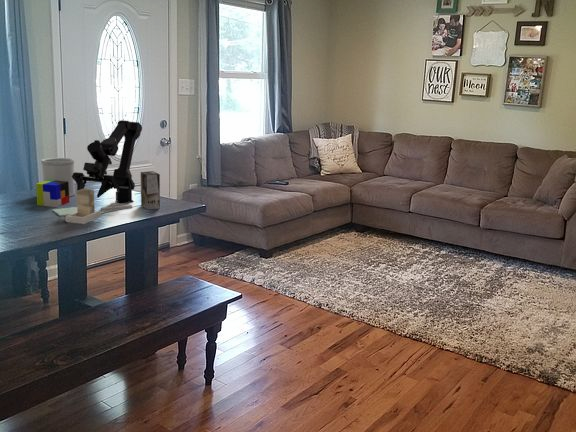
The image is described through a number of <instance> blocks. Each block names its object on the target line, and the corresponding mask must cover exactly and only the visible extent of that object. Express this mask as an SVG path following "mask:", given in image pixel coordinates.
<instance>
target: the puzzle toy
mask: <svg viewBox="0 0 576 432" xmlns="http://www.w3.org/2000/svg"><path fill="white" fill-rule="evenodd" d="M35 188H36V189H35V190H36V205H37V206H42V207H43V206H45V207H53V208H58V207H61V206H63V205H66V204H68V203H70V197H69V183H68V181H57V180H46V181H44V180H43V181H40V182H37V183H35Z"/></svg>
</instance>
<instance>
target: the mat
mask: <svg viewBox="0 0 576 432" xmlns="http://www.w3.org/2000/svg"><path fill="white" fill-rule="evenodd" d="M51 210H52V212H53V213H55V214H56V215H58V216H59V217H65V216H67V215H69V214H72V213H74V212H77V206H74V207H72V206H71V207H65V208H64V207H63V208H54V209H51Z"/></svg>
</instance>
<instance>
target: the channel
mask: <svg viewBox="0 0 576 432" xmlns="http://www.w3.org/2000/svg"><path fill="white" fill-rule="evenodd" d="M101 212H102V211H101V210H96V211H95V212H94V213H91V214H89V215H87V216H84V217H78V213H77V212H74V213H72V214H69V215H67V216H64V217H65V222H66V223H72V224H80V225H81V224H83V225H85V224H87V223H89V222H92V221H94V220H96V219H98V218H101V217H102V216H101V215H102V213H101Z"/></svg>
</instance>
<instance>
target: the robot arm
mask: <svg viewBox="0 0 576 432" xmlns="http://www.w3.org/2000/svg"><path fill="white" fill-rule="evenodd" d="M142 131H143V125H141V123H140V122H138V121H129V120H118V121H117V125H116V126H115V128H114V129H113V131H112V132H111V133H110V134H109V137H107V138H105V139H103V140H102V141H101V140H98V139H95V140H94V141H93V142H90V143H89V144H88V145H87V147H86V149H87V152H88V153H89V154H90V156H91V158H92V159H93V160H94V162H93V163H92V162H84V165H83V169H82V170H83V171H85V172H86V174H87V175H88V176H87V175H85V174H84V173H83V172H77V171H74V173H73V175H72V178H73V179H74V183H76V192H77V191H78V190H81V189H85V187H86V184H87V182H92V183H101V184H100V187H99V189H98V191H97V194H96V197H97V199H98V198H100V197H102V196H103V195H104V194H105V193H107V192H108V191H110V190H113V189H114V190H116V191H115V201H116V202H118V203H120V204H125V203H126V204H127V203H133V202H134V200H133V195H132V194H133V190H135V188H136V183H135V182H134V180H133V179H132V178H133V175H132V173H131V164H132V159H133V153H134V148H135V144H136V141H137V140H138V139H139V138H140V136H141V133H142ZM123 137H124V142H123V147H122V151H121V157H120V162H119V166H118V167H117V168H115V169H114V170H113V175H112V174H108V172H107V169H108V167H109V165H112V164H113V162H112V159H111V157H115V156H116V155H117V153H118V151H119V144H120V142H121V141H122V140H123Z"/></svg>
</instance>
